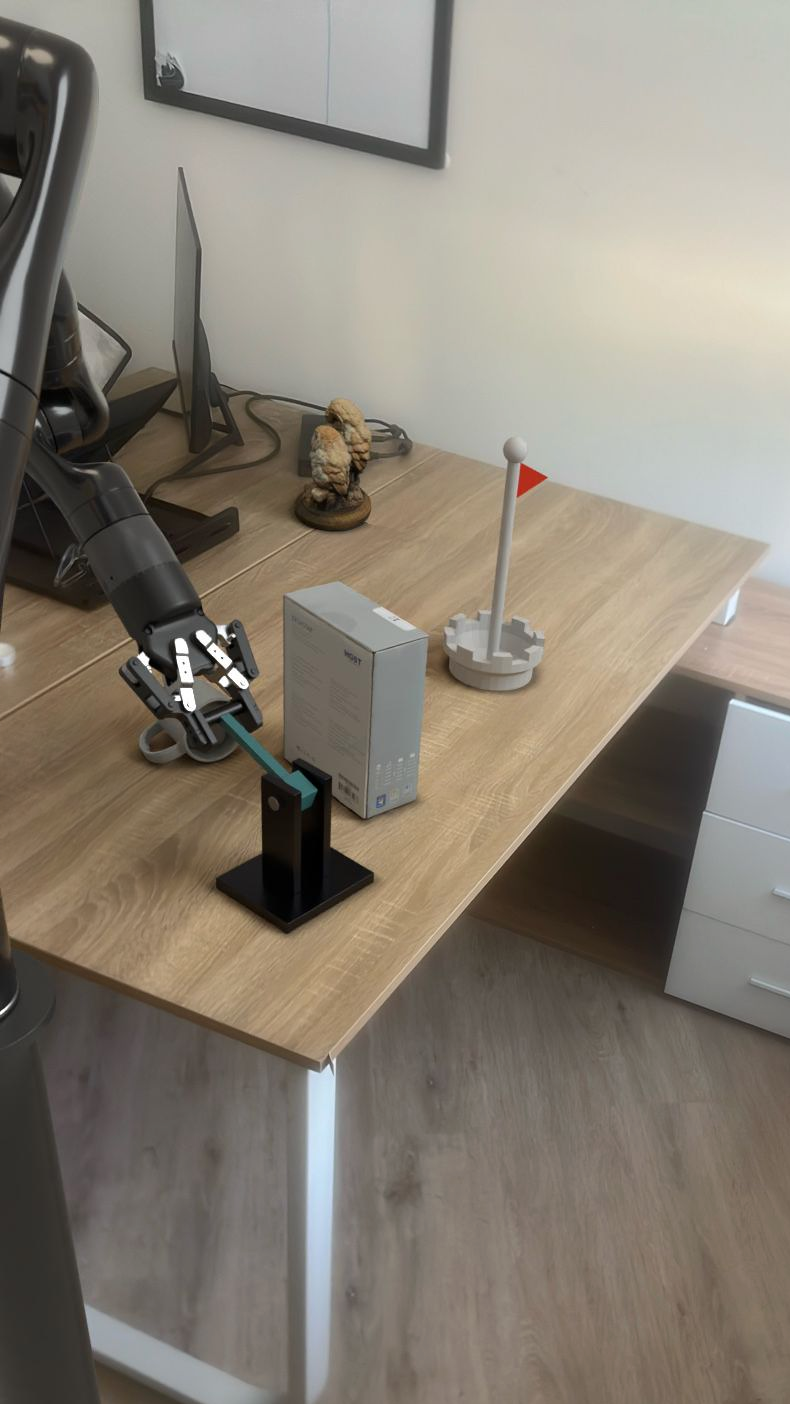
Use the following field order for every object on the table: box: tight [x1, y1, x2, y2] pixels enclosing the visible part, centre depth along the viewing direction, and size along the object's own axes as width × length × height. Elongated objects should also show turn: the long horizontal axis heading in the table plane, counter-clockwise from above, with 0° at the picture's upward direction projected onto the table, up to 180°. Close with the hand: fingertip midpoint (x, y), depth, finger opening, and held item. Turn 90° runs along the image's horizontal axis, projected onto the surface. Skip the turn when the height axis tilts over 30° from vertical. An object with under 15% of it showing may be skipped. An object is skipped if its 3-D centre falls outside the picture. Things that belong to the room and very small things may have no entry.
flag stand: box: [442, 436, 549, 692], centre depth 158 cm, size 13×13×30 cm
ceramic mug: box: [138, 676, 245, 764], centre depth 141 cm, size 11×8×8 cm
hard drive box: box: [282, 580, 430, 819], centre depth 137 cm, size 16×8×20 cm, turn 44°
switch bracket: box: [215, 758, 375, 934], centre depth 123 cm, size 10×12×13 cm
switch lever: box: [203, 699, 318, 810], centre depth 121 cm, size 13×5×2 cm, turn 54°
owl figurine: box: [294, 397, 373, 532], centre depth 196 cm, size 18×12×17 cm, turn 0°
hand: (234, 738), depth 122 cm, fingers closed on switch lever, 5 cm apart
